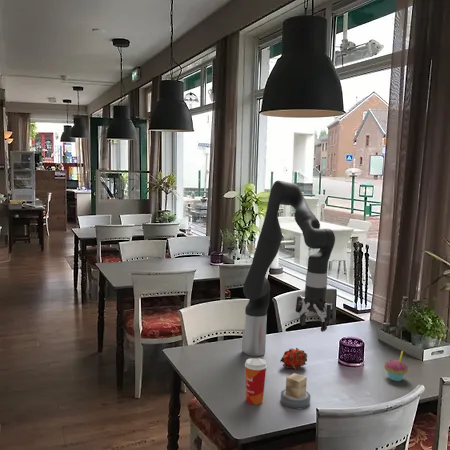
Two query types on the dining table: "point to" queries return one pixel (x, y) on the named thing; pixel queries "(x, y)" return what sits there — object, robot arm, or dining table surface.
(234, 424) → the dining table surface
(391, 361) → the cupcake
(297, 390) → the oak block
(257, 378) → the paper cup
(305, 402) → the pedestal
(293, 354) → the dragon fruit
